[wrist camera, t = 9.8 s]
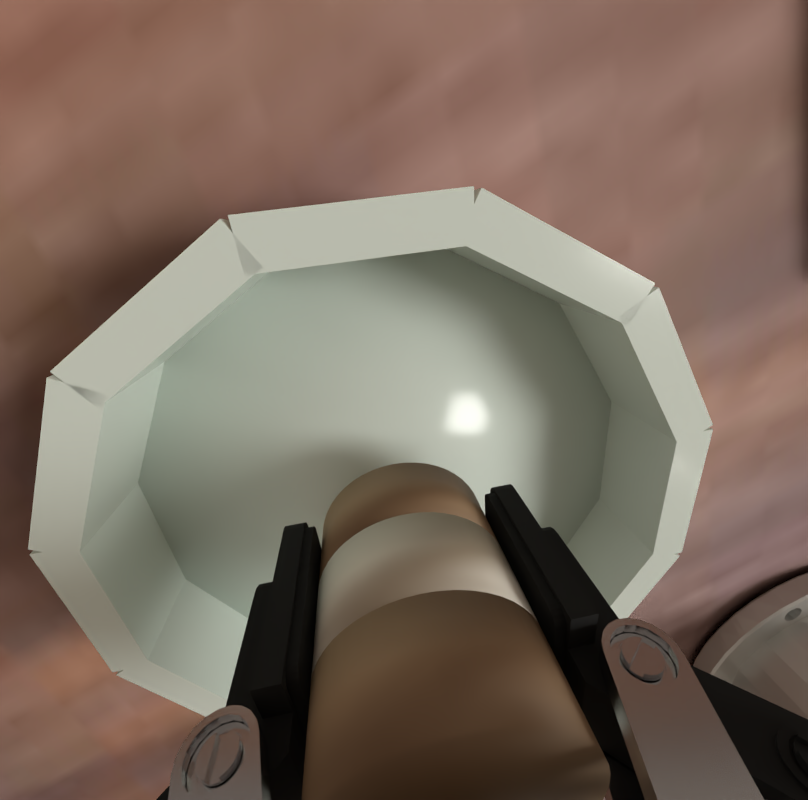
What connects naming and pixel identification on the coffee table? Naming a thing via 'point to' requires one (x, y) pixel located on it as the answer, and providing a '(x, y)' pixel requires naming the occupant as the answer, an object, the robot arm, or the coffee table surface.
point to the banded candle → (434, 658)
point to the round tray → (353, 413)
